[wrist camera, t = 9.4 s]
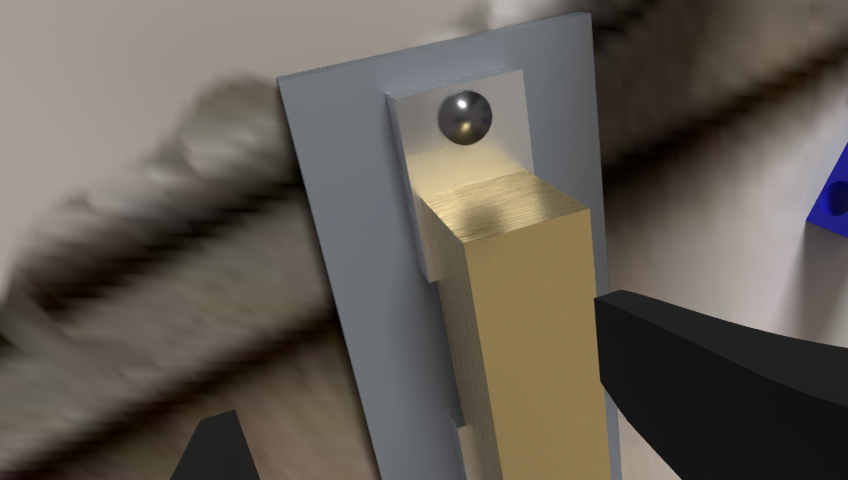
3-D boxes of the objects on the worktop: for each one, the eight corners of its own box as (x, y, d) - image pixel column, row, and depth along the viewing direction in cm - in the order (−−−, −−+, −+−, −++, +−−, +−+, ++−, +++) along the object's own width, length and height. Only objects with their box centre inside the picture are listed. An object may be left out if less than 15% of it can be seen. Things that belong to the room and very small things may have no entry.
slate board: (399, 548, 28) (405, 567, 27) (276, 77, 20) (278, 81, 19) (610, 471, 29) (622, 486, 29) (575, 12, 21) (591, 12, 21)
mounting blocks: (470, 524, 27) (481, 551, 26) (384, 93, 20) (395, 100, 18) (558, 492, 28) (574, 516, 26) (507, 65, 20) (525, 70, 19)
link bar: (476, 490, 25) (519, 576, 21) (421, 198, 20) (463, 244, 16) (560, 460, 25) (615, 538, 22) (526, 169, 21) (589, 208, 17)
